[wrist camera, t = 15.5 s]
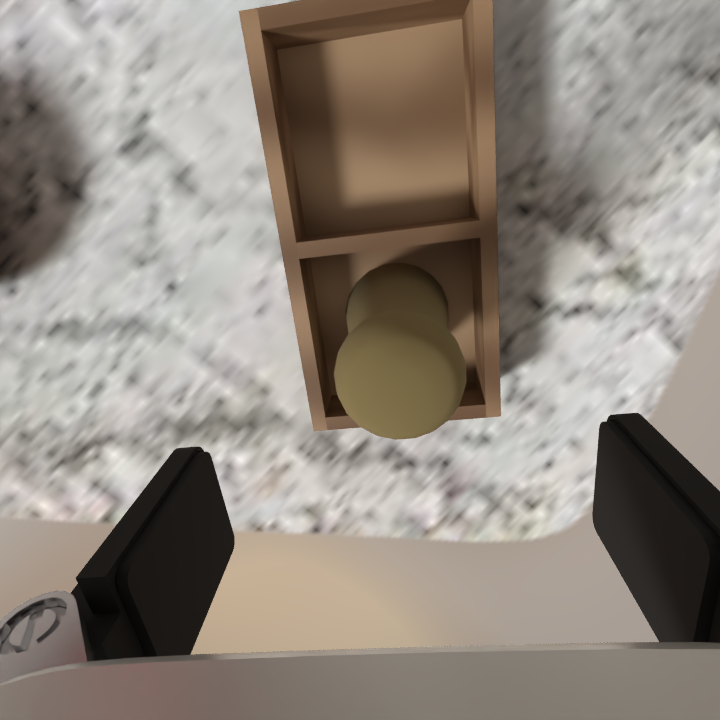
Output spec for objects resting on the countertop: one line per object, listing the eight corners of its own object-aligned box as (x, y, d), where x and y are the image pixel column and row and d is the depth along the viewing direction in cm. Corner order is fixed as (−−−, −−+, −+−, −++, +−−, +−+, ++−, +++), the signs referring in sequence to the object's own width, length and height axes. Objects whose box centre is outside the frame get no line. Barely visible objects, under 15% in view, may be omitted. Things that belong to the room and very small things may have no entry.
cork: (413, 241, 25) (429, 278, 15) (468, 329, 27) (515, 416, 17) (325, 299, 27) (284, 369, 17) (381, 380, 28) (376, 489, 18)
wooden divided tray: (264, 40, 24) (238, 11, 20) (474, 5, 22) (491, -34, 19) (323, 399, 31) (313, 430, 27) (486, 385, 29) (500, 416, 26)
